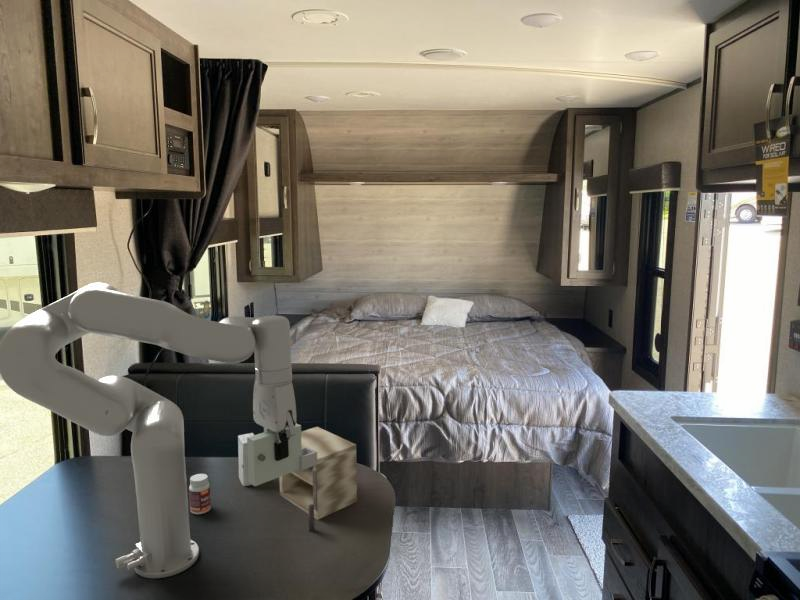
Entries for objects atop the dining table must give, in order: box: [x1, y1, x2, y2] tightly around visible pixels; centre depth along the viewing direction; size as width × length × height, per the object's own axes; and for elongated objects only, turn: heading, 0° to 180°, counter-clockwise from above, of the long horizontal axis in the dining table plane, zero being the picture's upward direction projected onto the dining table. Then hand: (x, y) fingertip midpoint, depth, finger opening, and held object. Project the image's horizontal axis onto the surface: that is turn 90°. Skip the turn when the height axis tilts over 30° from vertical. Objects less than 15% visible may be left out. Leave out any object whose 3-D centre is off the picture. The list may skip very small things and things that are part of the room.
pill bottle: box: [188, 473, 212, 515], centre depth 138 cm, size 5×5×8 cm
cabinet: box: [278, 426, 358, 533], centre depth 140 cm, size 16×19×15 cm
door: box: [247, 422, 317, 487], centre depth 124 cm, size 16×4×10 cm, turn 136°
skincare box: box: [237, 432, 255, 487], centre depth 152 cm, size 6×4×12 cm
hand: (277, 455), depth 123 cm, fingers closed on door, 2 cm apart
